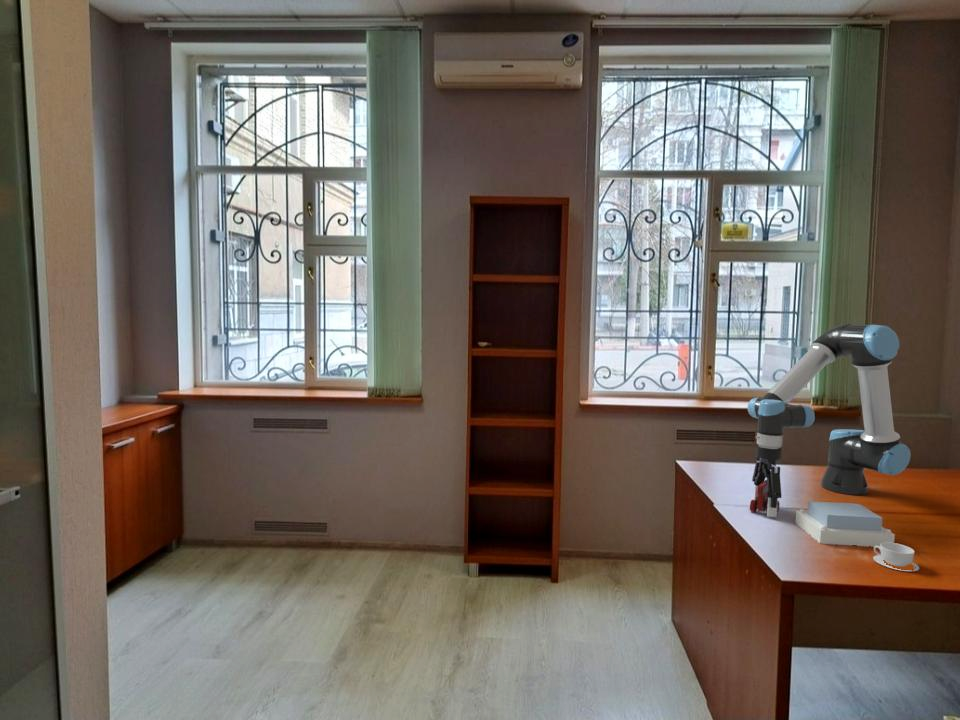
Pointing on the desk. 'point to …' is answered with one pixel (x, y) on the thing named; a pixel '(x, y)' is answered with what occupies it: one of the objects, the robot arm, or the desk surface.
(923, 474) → the desk surface
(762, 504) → the red toy vehicle
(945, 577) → the desk surface
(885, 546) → the teacup
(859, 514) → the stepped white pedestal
